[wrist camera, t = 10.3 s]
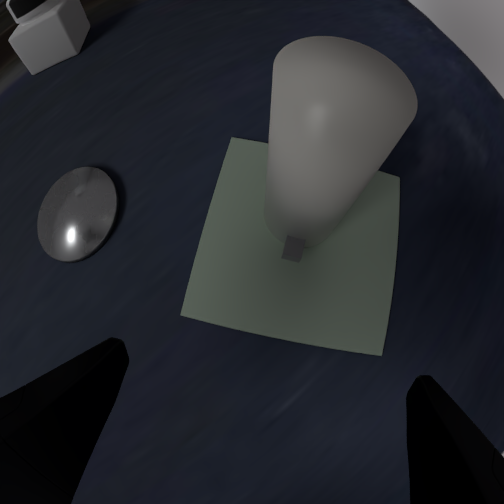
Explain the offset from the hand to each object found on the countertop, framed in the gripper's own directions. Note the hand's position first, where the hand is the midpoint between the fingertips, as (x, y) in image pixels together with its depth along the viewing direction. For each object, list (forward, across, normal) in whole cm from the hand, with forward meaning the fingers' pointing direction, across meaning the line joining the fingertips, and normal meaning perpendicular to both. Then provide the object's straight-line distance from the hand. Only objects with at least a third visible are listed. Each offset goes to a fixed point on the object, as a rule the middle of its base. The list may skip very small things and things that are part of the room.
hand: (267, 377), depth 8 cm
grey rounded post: (+12, -1, -1) cm, 12 cm away
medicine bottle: (+23, +28, -17) cm, 41 cm away
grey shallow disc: (+10, +14, 0) cm, 18 cm away
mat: (+11, -1, 0) cm, 11 cm away
